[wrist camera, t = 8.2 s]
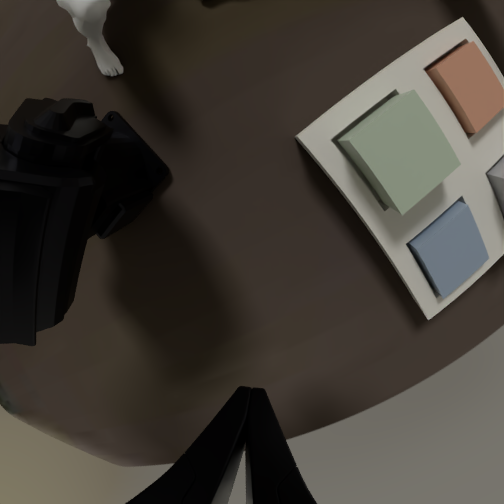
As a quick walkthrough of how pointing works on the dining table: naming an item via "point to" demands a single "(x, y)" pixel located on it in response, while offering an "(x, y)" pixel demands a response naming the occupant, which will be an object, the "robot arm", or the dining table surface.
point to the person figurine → (94, 31)
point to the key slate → (449, 249)
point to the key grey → (498, 182)
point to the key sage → (401, 151)
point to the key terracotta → (468, 86)
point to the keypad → (443, 195)
